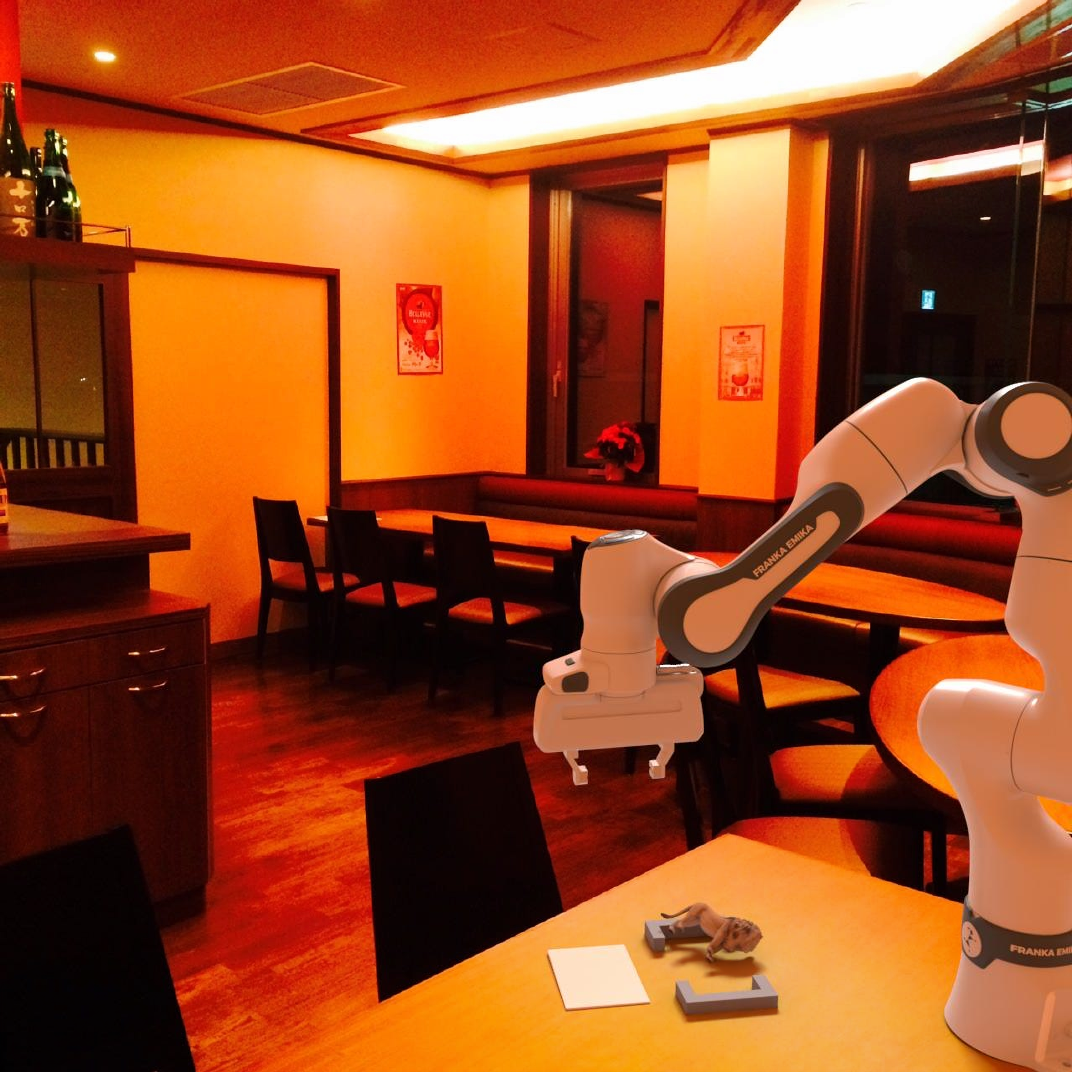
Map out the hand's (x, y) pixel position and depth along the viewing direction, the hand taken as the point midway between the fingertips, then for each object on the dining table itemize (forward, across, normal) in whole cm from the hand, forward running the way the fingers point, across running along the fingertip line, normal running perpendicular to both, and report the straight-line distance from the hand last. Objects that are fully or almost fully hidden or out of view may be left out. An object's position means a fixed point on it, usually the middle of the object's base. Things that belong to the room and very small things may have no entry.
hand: (618, 779), depth 128 cm
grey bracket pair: (+26, -11, +1) cm, 28 cm away
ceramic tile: (+25, +3, +1) cm, 25 cm away
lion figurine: (+24, -10, -2) cm, 26 cm away
